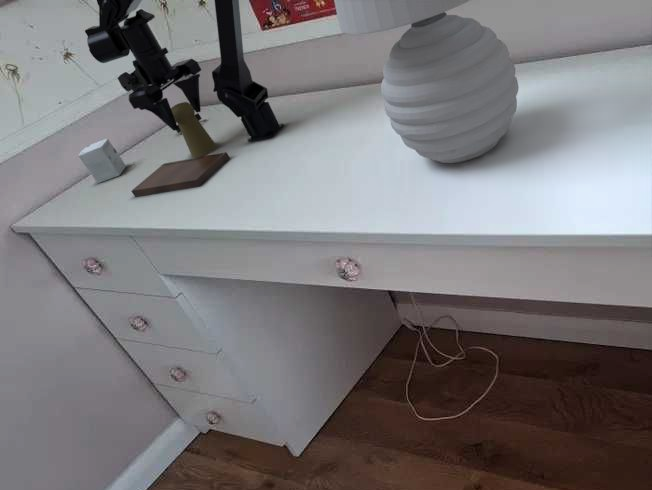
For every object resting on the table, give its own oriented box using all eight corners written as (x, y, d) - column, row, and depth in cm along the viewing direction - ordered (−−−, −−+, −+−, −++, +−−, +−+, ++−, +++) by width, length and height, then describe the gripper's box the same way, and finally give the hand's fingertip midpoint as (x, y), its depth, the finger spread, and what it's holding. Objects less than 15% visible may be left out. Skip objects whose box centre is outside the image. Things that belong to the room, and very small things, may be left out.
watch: (183, 135, 165) (175, 121, 162) (174, 135, 167) (166, 121, 165) (207, 121, 168) (199, 107, 166) (197, 121, 171) (190, 107, 169)
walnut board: (230, 158, 140) (226, 151, 139) (200, 186, 132) (195, 179, 131) (167, 169, 147) (163, 163, 146) (135, 197, 138) (130, 190, 137)
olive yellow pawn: (208, 154, 146) (181, 107, 139) (187, 159, 148) (159, 113, 141) (221, 142, 150) (195, 96, 143) (200, 147, 152) (173, 102, 145)
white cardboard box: (120, 175, 154) (100, 146, 149) (96, 184, 154) (76, 155, 149) (126, 165, 158) (108, 137, 154) (104, 174, 159) (84, 146, 154)
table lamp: (366, 177, 111) (252, -95, 86) (463, 109, 122) (387, -149, 97) (471, 196, 94) (369, -133, 69) (572, 115, 105) (515, -193, 80)
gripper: (144, 41, 144) (183, 109, 154) (89, 74, 132) (135, 145, 141) (182, 30, 140) (219, 100, 150) (129, 63, 127) (174, 137, 137)
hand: (187, 120), depth 145 cm, fingers open, 9 cm apart
